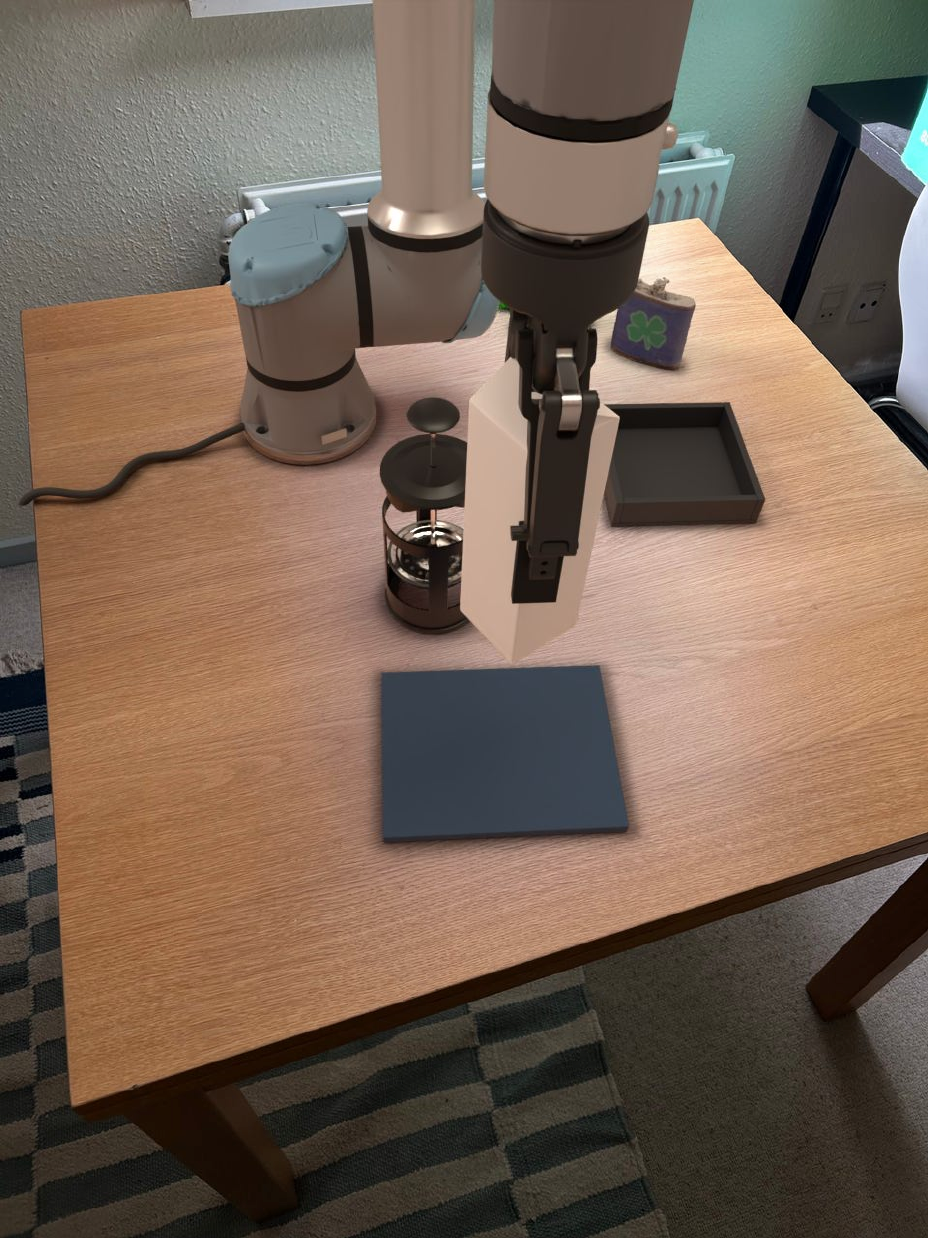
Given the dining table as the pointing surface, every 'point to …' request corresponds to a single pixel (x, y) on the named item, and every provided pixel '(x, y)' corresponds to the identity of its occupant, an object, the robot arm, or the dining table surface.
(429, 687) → the mat
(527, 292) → the robot arm
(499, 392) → the milk
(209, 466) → the dining table surface
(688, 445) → the tray
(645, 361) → the flask
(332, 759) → the dining table surface
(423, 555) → the french press
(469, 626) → the dining table surface
